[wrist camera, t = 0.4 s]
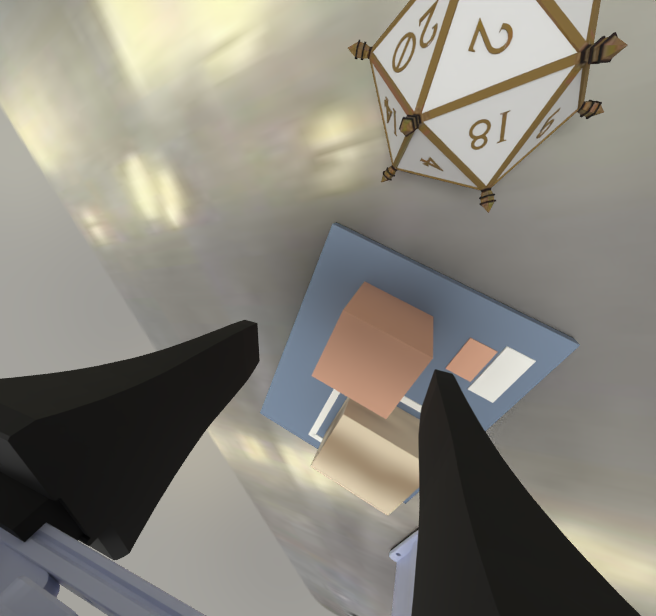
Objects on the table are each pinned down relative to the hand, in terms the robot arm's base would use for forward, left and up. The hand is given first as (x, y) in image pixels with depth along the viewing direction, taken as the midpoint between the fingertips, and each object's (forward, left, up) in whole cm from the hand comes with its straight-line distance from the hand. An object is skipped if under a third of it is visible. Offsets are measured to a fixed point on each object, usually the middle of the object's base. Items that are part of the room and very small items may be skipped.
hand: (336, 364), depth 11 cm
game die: (+11, +1, -10) cm, 15 cm away
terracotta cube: (-2, -1, -9) cm, 9 cm away
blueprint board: (-7, -3, -10) cm, 12 cm away
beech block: (-11, -5, -9) cm, 15 cm away
